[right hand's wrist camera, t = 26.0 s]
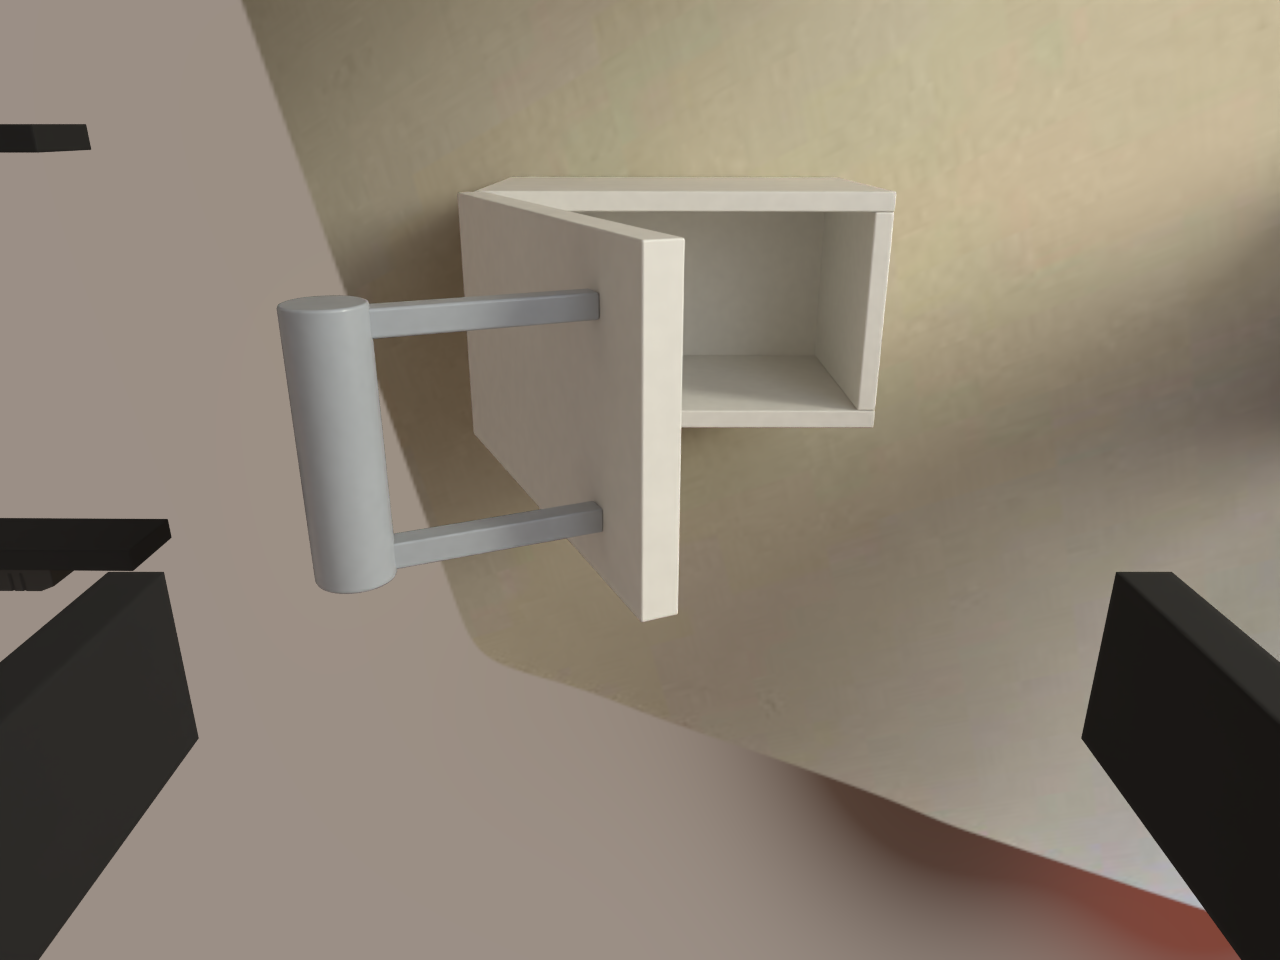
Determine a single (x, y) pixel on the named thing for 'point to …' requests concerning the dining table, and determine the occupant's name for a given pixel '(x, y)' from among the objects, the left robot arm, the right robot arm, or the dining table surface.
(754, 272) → the chest
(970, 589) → the dining table surface
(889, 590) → the dining table surface
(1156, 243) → the dining table surface
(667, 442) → the lid
